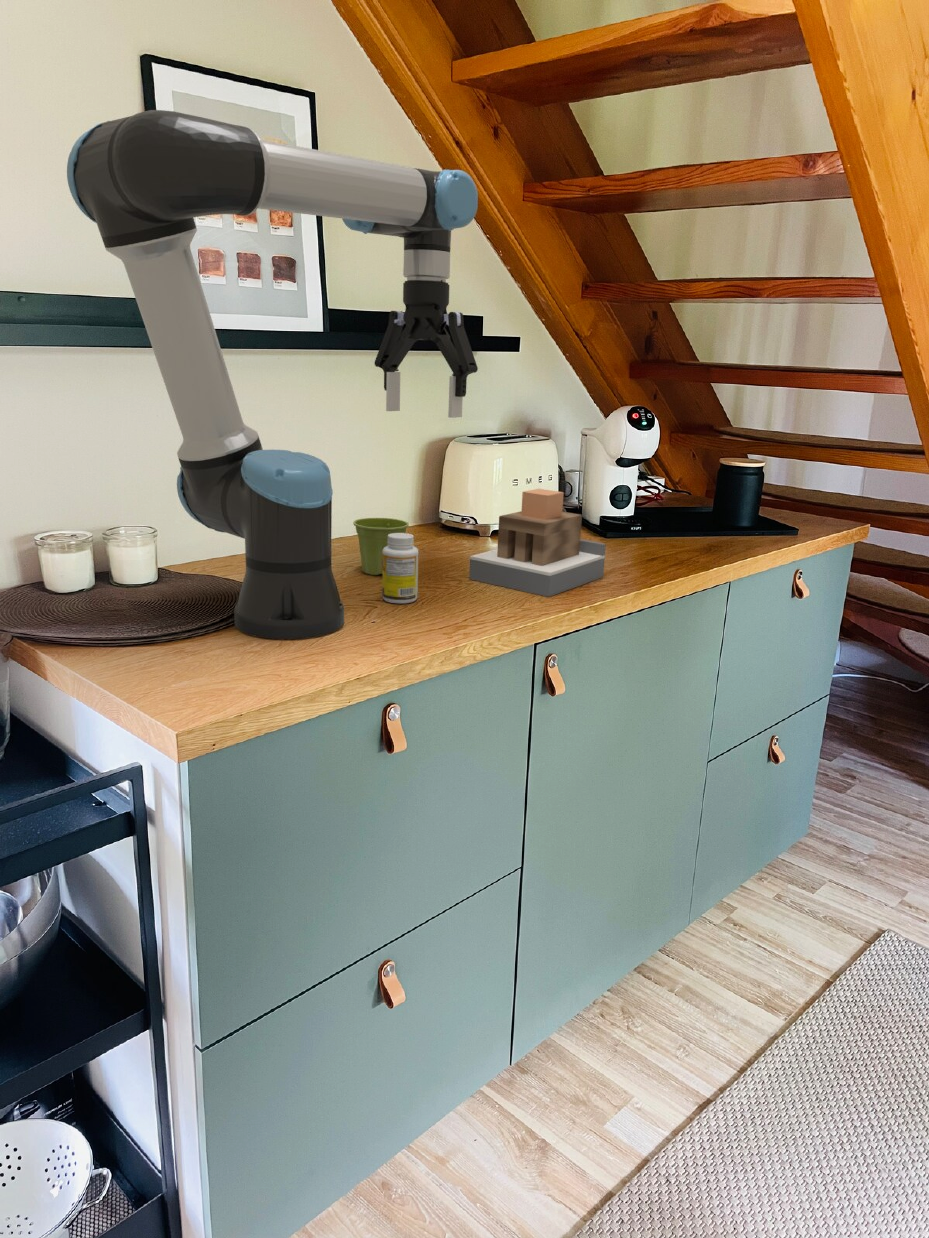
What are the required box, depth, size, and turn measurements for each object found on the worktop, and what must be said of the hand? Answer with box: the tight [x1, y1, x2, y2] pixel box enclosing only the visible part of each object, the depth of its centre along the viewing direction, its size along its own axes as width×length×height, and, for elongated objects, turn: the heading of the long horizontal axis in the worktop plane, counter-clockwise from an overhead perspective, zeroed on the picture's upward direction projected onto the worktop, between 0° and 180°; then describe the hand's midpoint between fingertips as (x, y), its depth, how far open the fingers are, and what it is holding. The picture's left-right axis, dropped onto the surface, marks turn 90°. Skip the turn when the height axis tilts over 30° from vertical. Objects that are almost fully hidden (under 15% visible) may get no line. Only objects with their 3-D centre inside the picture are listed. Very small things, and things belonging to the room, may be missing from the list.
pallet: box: [497, 510, 583, 566], centre depth 156 cm, size 12×9×7 cm
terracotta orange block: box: [520, 488, 565, 520], centre depth 154 cm, size 5×5×4 cm
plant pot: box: [352, 517, 410, 576], centre depth 157 cm, size 9×9×9 cm
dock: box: [468, 538, 607, 598], centre depth 157 cm, size 18×16×6 cm
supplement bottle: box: [381, 532, 420, 605], centre depth 141 cm, size 6×6×10 cm
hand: (423, 414), depth 154 cm, fingers open, 13 cm apart
